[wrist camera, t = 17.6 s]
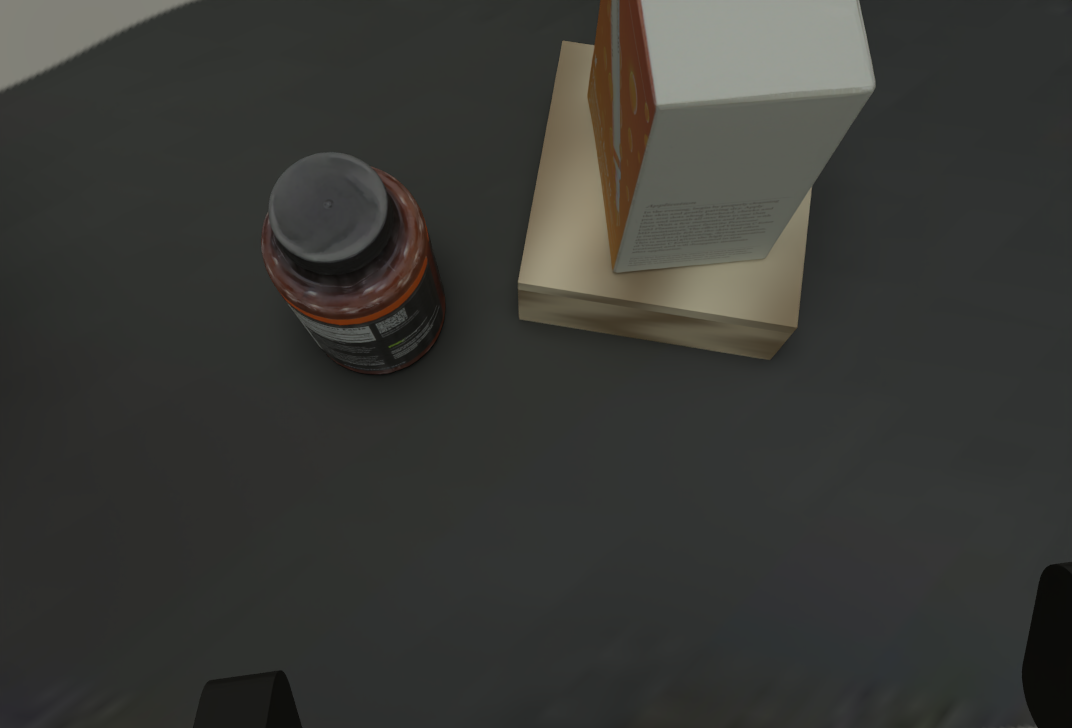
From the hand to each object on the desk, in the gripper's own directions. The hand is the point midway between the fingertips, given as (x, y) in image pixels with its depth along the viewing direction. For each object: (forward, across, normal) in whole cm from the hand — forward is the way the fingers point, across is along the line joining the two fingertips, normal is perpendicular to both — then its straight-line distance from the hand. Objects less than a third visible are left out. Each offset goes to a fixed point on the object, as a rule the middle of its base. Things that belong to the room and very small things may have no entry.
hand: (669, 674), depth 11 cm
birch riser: (+35, -7, +9) cm, 36 cm away
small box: (+31, -7, +6) cm, 32 cm away
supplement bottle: (+33, +6, +11) cm, 35 cm away
